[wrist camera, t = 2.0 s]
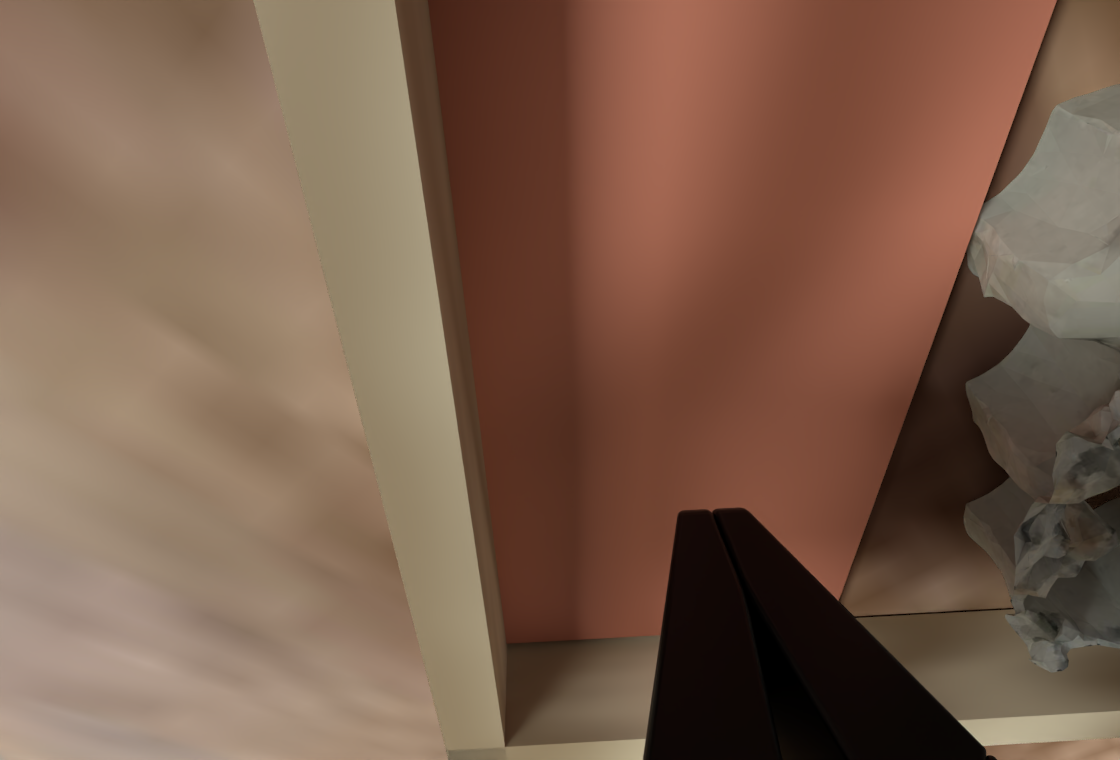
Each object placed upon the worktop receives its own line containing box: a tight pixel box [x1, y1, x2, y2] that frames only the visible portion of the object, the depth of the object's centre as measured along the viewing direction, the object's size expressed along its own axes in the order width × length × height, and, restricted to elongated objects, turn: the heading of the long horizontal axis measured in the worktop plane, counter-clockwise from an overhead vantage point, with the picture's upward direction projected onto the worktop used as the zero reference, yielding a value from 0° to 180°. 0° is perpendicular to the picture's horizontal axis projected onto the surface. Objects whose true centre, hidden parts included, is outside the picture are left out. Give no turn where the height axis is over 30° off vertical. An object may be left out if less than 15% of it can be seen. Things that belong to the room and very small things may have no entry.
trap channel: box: [253, 0, 1120, 760], centre depth 10 cm, size 18×17×2 cm
